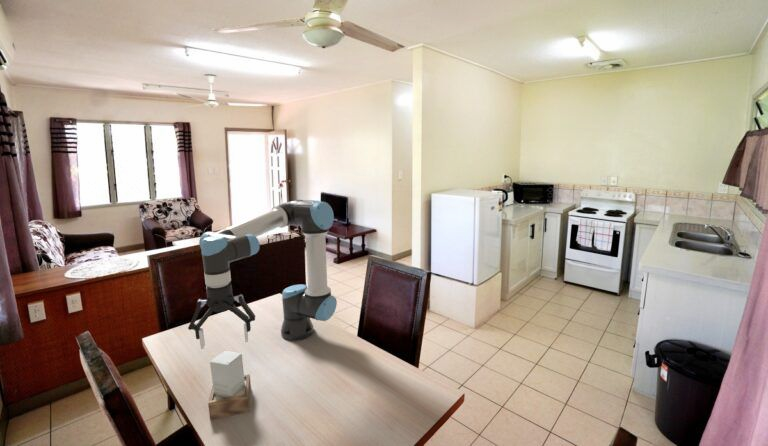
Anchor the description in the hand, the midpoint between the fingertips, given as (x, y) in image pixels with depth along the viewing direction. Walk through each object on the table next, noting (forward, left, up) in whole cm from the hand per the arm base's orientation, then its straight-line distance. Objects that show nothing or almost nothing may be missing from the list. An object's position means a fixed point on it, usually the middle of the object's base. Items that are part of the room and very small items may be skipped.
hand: (225, 343), depth 121 cm
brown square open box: (0, +1, -23) cm, 23 cm away
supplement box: (0, 0, -18) cm, 18 cm away
